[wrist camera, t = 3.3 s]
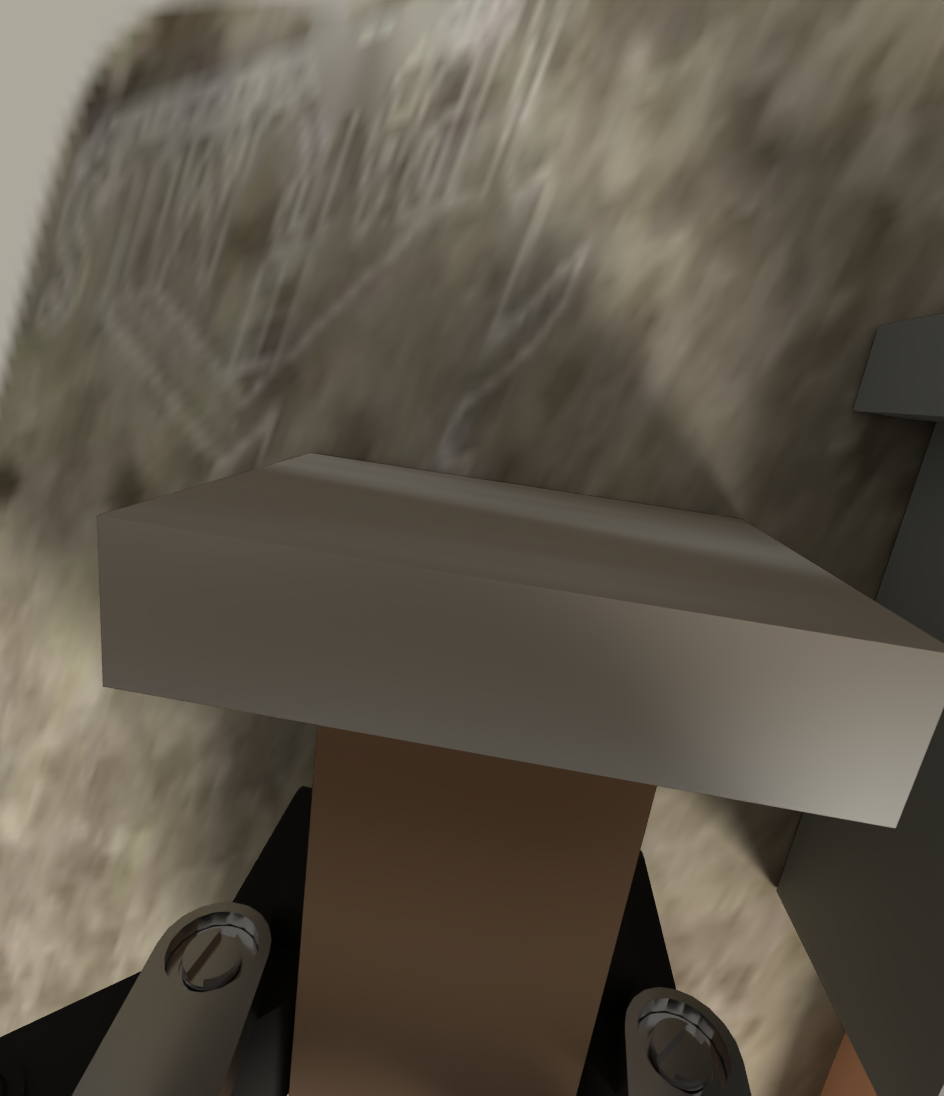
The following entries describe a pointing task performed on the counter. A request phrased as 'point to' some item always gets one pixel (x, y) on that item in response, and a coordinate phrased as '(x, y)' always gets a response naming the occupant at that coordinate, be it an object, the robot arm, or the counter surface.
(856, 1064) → the tile
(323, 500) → the scraper
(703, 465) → the counter surface
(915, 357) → the bay
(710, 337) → the counter surface
